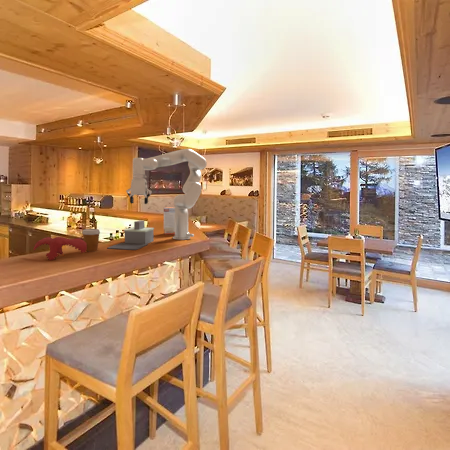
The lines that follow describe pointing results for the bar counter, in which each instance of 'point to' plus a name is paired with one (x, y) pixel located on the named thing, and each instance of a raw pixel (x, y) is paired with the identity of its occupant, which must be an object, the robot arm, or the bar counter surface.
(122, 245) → the mat
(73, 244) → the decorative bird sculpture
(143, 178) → the robot arm
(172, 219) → the cracker box
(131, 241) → the box
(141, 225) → the lid
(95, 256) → the bar counter surface
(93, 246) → the disposable coffee cup
